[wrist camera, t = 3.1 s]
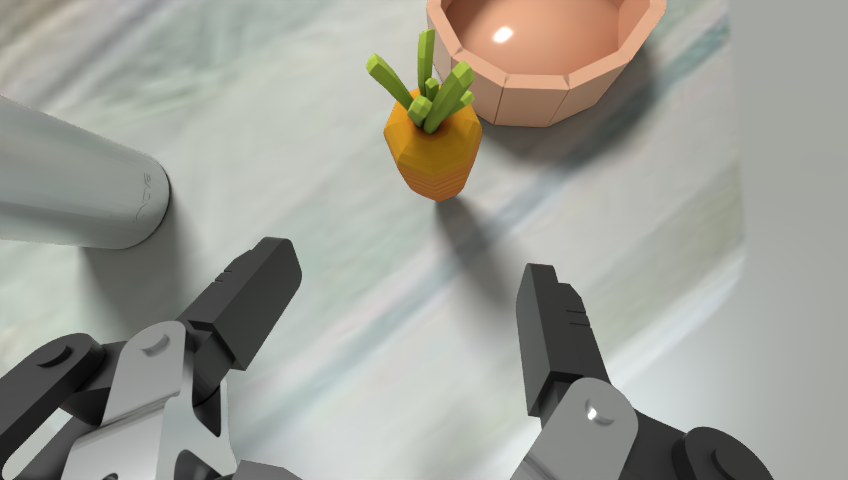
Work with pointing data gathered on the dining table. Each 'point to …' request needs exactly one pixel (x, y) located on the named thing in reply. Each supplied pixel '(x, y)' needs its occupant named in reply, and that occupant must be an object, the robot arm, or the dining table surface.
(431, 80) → the carrot
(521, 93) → the terracotta bowl
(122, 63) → the dining table surface
